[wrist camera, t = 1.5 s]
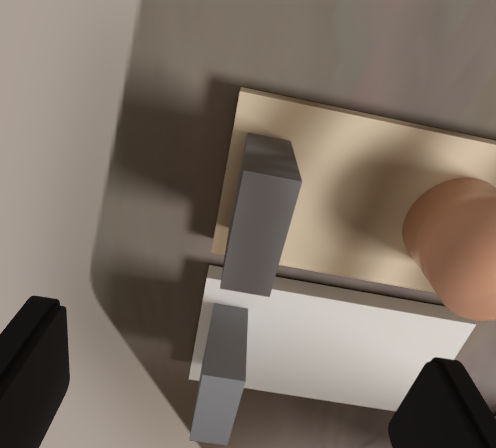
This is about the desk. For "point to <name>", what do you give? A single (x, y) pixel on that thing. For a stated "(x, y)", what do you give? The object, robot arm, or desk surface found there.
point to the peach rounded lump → (457, 244)
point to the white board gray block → (312, 347)
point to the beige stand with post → (330, 190)
